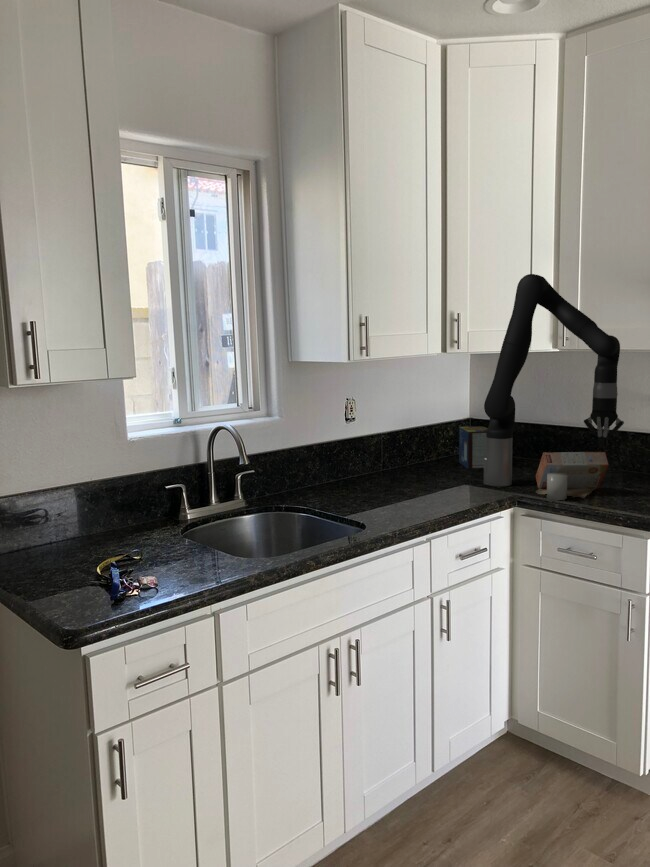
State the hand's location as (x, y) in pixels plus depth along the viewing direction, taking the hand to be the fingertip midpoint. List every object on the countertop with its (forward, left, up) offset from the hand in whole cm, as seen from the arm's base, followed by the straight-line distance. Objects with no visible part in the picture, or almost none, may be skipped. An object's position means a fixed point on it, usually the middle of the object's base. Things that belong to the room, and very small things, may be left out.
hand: (602, 447), depth 240 cm
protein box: (-56, +33, -16) cm, 67 cm away
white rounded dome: (-11, -13, -16) cm, 23 cm away
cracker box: (0, +4, -8) cm, 9 cm away
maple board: (-11, 0, -16) cm, 19 cm away
